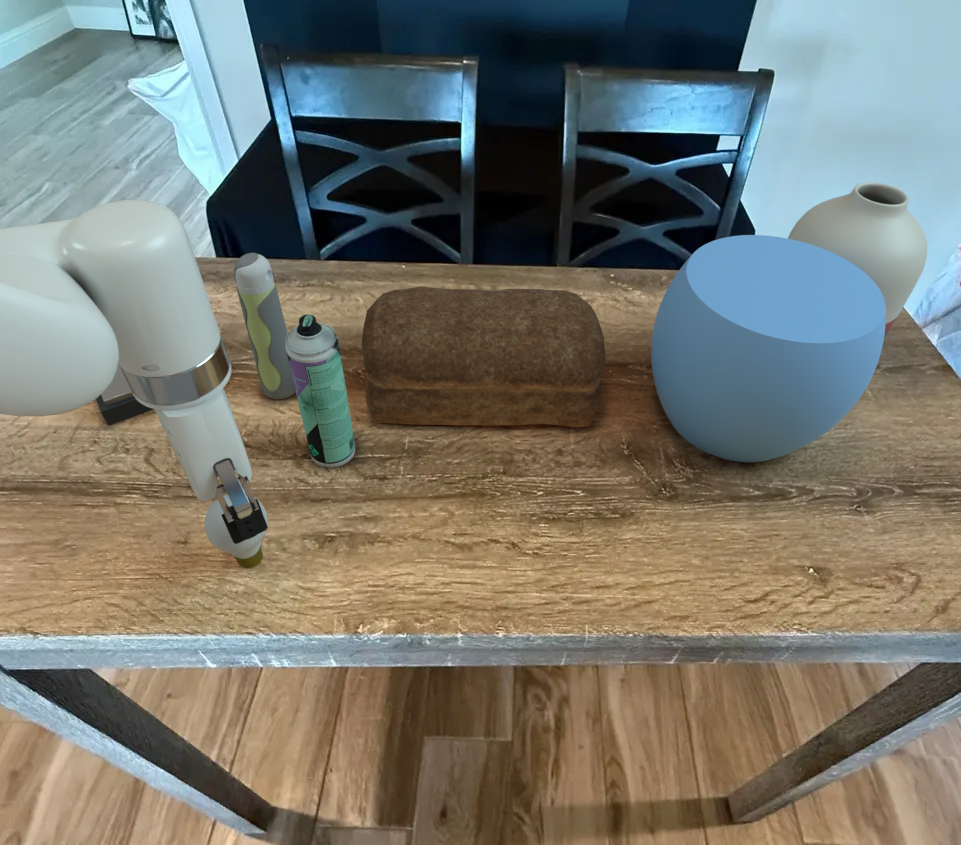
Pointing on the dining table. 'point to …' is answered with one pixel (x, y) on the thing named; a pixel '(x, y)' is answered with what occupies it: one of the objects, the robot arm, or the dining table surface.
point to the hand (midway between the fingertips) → (232, 499)
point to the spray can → (321, 391)
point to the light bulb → (219, 536)
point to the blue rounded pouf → (764, 345)
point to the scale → (119, 401)
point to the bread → (482, 357)
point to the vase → (871, 239)
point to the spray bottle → (264, 324)
